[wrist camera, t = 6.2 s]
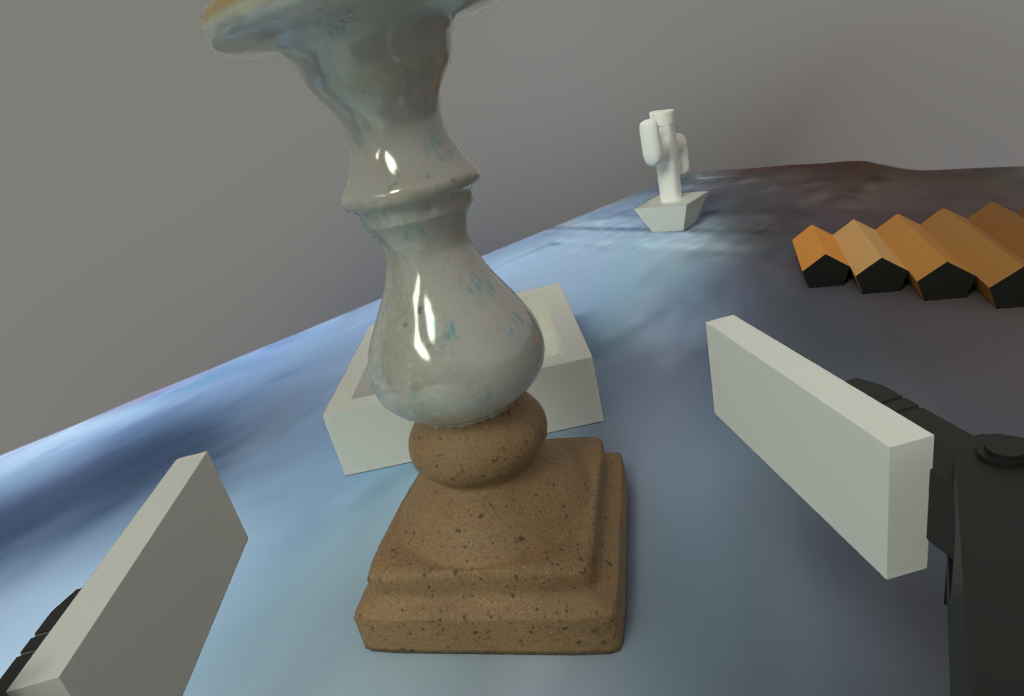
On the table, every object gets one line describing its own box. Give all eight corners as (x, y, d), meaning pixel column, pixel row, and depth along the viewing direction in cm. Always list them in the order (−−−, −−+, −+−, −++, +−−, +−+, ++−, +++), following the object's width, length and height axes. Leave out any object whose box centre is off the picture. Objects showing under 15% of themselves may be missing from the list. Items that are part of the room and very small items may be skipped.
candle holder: (438, 491, 35) (298, 41, 26) (628, 479, 32) (542, -30, 23) (360, 653, 25) (93, 20, 16) (624, 656, 22) (473, -107, 13)
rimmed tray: (345, 475, 39) (322, 415, 37) (385, 370, 54) (370, 324, 53) (604, 420, 38) (592, 356, 36) (568, 330, 54) (559, 283, 52)
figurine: (713, 216, 82) (703, 99, 76) (686, 236, 75) (672, 110, 70) (664, 219, 86) (651, 109, 81) (634, 238, 80) (617, 120, 74)
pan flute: (1398, 349, 29) (1117, 224, 51) (1421, 283, 28) (1124, 184, 49) (826, 374, 39) (793, 260, 60) (825, 326, 37) (791, 227, 59)
